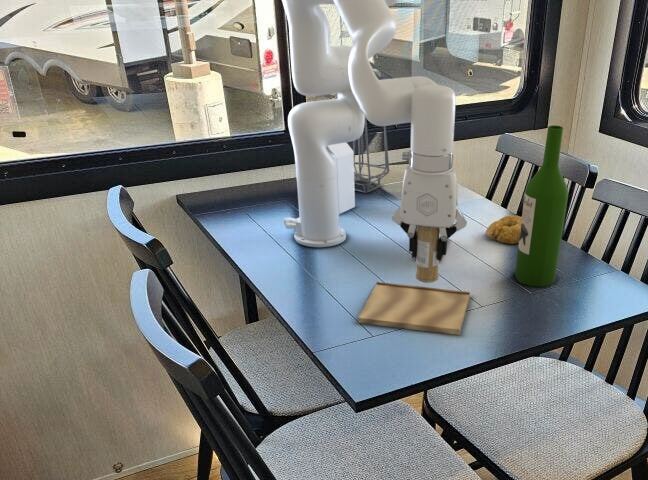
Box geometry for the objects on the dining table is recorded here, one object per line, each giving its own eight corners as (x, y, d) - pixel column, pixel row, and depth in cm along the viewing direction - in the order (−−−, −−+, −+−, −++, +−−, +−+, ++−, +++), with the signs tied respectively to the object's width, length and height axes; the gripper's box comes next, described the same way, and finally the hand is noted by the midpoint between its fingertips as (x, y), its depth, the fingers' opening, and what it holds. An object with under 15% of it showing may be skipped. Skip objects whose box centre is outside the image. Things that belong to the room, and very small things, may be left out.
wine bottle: (507, 273, 154) (524, 123, 136) (541, 267, 158) (562, 120, 139) (527, 289, 148) (548, 134, 129) (562, 283, 151) (587, 131, 132)
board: (357, 322, 134) (357, 316, 133) (377, 287, 147) (377, 281, 146) (459, 335, 131) (459, 328, 130) (469, 297, 144) (470, 291, 143)
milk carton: (355, 207, 187) (353, 135, 176) (339, 214, 182) (336, 141, 171) (334, 202, 190) (331, 131, 179) (318, 209, 185) (314, 137, 174)
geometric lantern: (367, 199, 192) (365, 64, 172) (323, 188, 199) (317, 56, 179) (399, 185, 203) (400, 56, 183) (356, 175, 210) (353, 49, 190)
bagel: (484, 229, 176) (485, 211, 173) (526, 231, 176) (529, 213, 173) (486, 244, 168) (487, 226, 165) (531, 246, 168) (533, 227, 165)
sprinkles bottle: (442, 281, 134) (446, 214, 126) (421, 285, 132) (423, 218, 124) (431, 272, 137) (434, 206, 129) (411, 275, 135) (412, 210, 128)
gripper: (380, 163, 120) (380, 260, 130) (475, 171, 117) (468, 269, 128) (389, 151, 126) (389, 244, 136) (480, 159, 123) (473, 253, 134)
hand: (427, 255), depth 132 cm, fingers closed on sprinkles bottle, 4 cm apart
